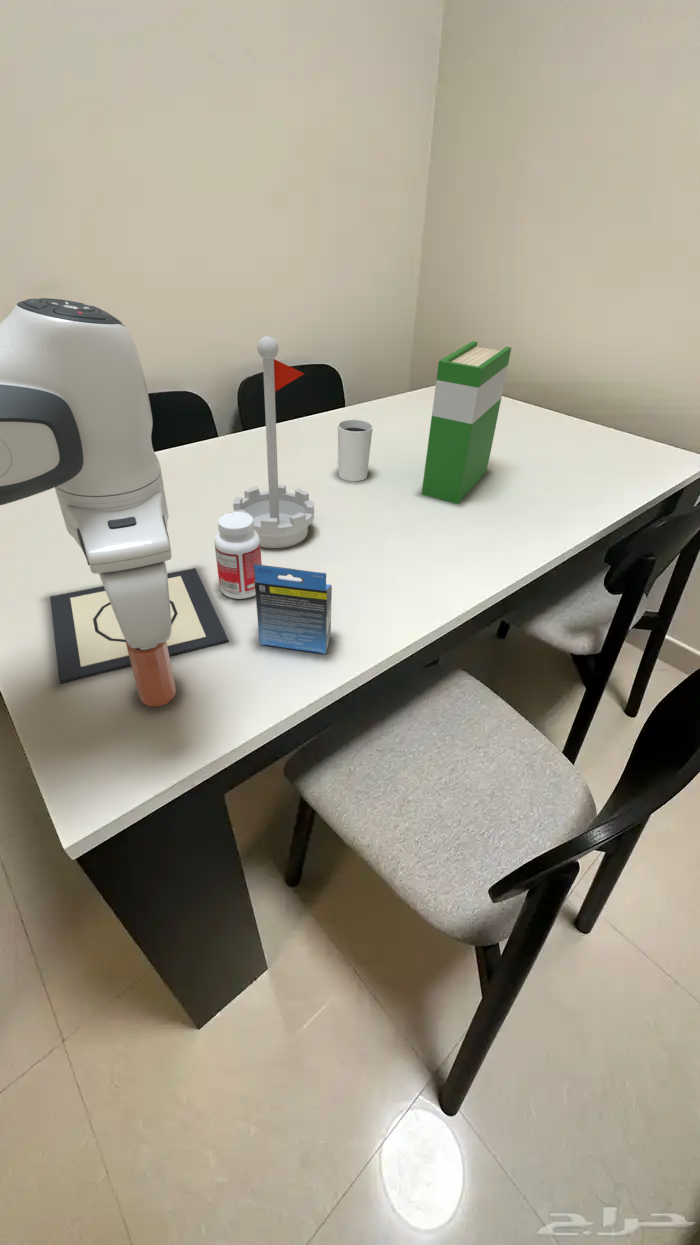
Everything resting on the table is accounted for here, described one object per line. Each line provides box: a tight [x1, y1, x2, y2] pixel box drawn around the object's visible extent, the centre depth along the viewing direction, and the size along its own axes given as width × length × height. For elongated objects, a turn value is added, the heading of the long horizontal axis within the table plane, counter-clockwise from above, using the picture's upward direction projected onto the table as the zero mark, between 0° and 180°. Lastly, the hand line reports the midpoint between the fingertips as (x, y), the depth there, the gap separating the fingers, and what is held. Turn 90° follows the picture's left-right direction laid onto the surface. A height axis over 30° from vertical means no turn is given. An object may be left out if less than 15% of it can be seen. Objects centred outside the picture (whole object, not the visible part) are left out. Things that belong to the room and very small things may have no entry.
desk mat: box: [49, 567, 229, 684], centre depth 77 cm, size 20×18×1 cm
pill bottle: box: [213, 511, 263, 600], centre depth 81 cm, size 6×6×11 cm
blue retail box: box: [253, 564, 333, 654], centre depth 71 cm, size 9×4×12 cm, turn 81°
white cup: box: [337, 419, 374, 482], centre depth 113 cm, size 7×7×10 cm
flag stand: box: [232, 335, 315, 549], centre depth 88 cm, size 13×13×30 cm
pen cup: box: [126, 641, 177, 708], centre depth 64 cm, size 4×4×8 cm
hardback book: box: [421, 340, 512, 505], centre depth 108 cm, size 18×7×24 cm, turn 152°
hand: (142, 625), depth 60 cm, fingers open, 5 cm apart
